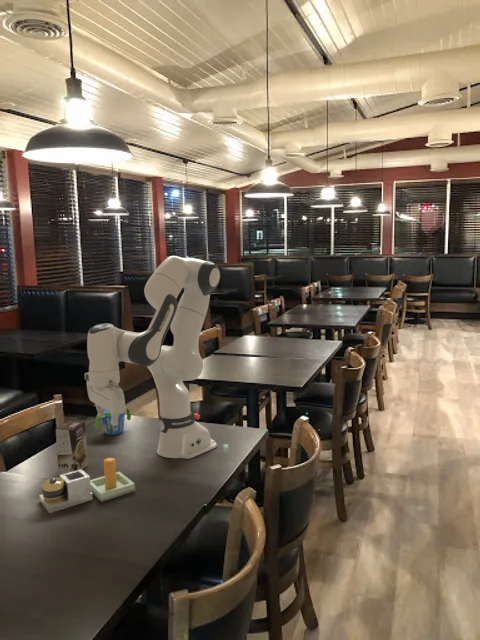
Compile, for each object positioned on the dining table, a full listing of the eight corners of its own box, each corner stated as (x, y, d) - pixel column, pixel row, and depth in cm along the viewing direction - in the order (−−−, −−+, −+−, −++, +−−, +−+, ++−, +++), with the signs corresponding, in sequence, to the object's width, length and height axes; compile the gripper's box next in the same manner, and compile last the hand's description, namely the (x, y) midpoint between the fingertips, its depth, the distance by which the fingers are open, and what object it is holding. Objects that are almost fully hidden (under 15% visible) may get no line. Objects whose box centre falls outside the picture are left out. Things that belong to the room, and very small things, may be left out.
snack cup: (101, 440, 209) (100, 415, 207) (90, 433, 217) (88, 409, 215) (137, 431, 218) (136, 407, 217) (125, 424, 227) (124, 401, 225)
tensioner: (81, 488, 168) (80, 464, 167) (92, 499, 161) (91, 474, 160) (39, 501, 161) (37, 476, 159) (48, 513, 153) (46, 487, 152)
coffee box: (75, 476, 177) (72, 430, 175) (57, 475, 179) (54, 429, 176) (88, 465, 186) (85, 420, 184) (71, 463, 187) (68, 419, 185)
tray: (119, 478, 175) (119, 471, 175) (134, 491, 166) (134, 483, 166) (87, 488, 169) (87, 481, 168) (101, 501, 160) (101, 494, 159)
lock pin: (113, 483, 170) (112, 457, 168) (118, 487, 167) (117, 460, 166) (103, 487, 168) (101, 459, 166) (107, 491, 165) (106, 463, 164)
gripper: (129, 382, 156) (132, 427, 158) (101, 369, 172) (104, 410, 174) (109, 387, 152) (112, 433, 154) (82, 373, 168) (85, 415, 170)
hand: (107, 421), depth 164 cm, fingers open, 8 cm apart
